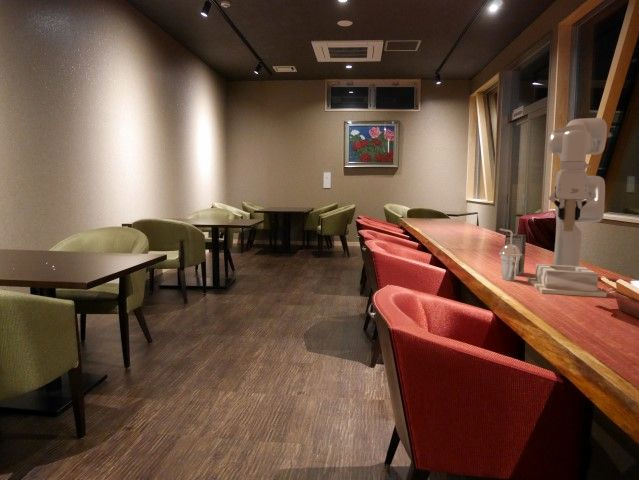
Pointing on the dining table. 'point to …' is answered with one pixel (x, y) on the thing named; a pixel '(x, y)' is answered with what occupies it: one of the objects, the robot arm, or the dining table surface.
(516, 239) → the coffee box
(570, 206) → the handle
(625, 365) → the dining table surface
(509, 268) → the cup with straw
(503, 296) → the dining table surface
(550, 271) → the socket holder
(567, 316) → the dining table surface
